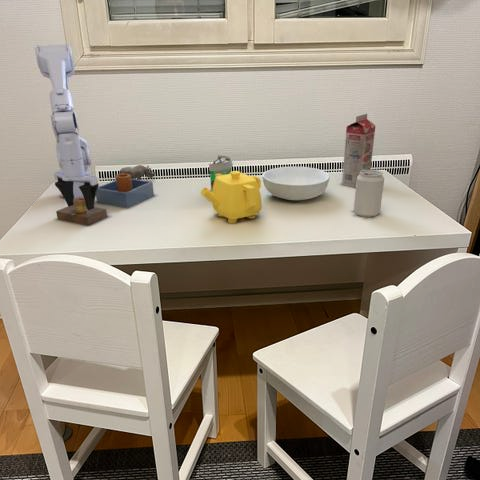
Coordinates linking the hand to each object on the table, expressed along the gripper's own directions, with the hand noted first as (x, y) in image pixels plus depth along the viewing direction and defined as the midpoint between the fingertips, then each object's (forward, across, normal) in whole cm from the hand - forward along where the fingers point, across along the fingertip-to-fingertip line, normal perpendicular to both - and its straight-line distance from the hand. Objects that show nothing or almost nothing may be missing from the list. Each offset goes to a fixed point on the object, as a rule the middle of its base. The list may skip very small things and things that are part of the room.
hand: (80, 207), depth 145 cm
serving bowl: (+4, +47, +46) cm, 66 cm away
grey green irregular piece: (+4, +23, +42) cm, 48 cm away
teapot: (+4, +38, +21) cm, 44 cm away
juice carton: (+4, +60, +67) cm, 90 cm away
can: (+4, +72, +40) cm, 82 cm away
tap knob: (+1, 0, 0) cm, 1 cm away
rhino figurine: (+4, -9, +37) cm, 38 cm away
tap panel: (+4, -1, +1) cm, 4 cm away
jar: (+3, -1, +20) cm, 21 cm away
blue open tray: (+4, -1, +20) cm, 21 cm away
